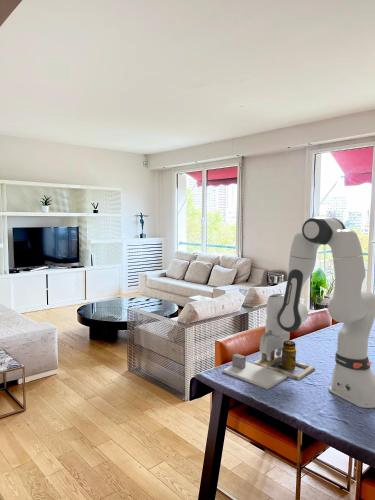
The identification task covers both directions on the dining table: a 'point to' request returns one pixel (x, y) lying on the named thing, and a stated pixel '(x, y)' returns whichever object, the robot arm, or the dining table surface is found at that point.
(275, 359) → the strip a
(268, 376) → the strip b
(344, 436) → the dining table surface
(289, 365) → the condiment
